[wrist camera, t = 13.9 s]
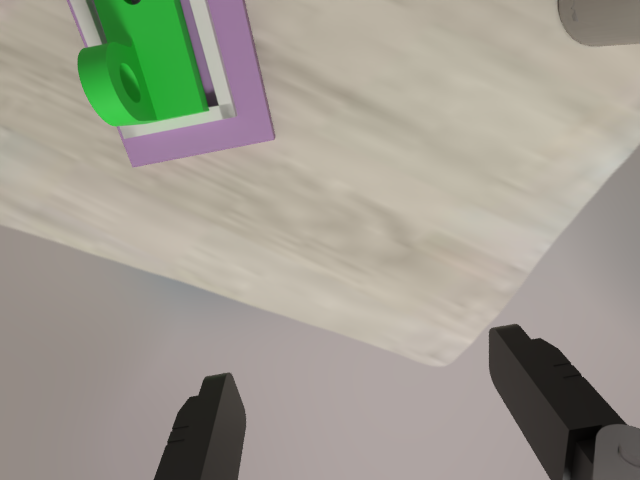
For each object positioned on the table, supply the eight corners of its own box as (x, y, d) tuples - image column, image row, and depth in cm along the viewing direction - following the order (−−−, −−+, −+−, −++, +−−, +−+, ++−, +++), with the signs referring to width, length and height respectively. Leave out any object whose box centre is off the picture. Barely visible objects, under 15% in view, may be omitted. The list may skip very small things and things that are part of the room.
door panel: (216, -121, 30) (208, -140, 27) (275, 136, 38) (273, 141, 35) (45, -83, 30) (20, -97, 28) (140, 163, 39) (127, 170, 36)
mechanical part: (209, 111, 34) (180, 111, 26) (144, 124, 34) (97, 127, 27) (167, -47, 30) (119, -100, 23) (94, -31, 30) (23, -78, 23)
